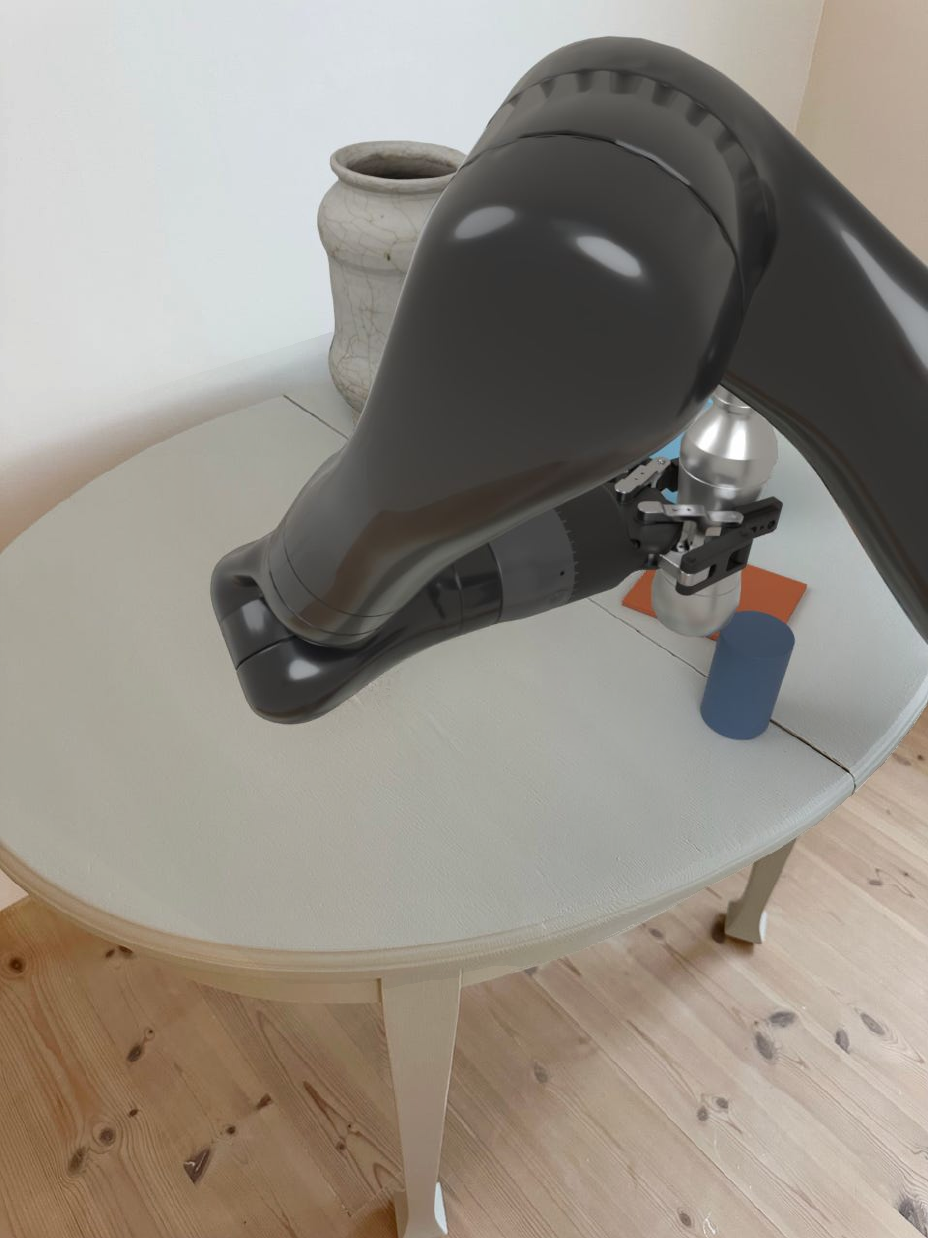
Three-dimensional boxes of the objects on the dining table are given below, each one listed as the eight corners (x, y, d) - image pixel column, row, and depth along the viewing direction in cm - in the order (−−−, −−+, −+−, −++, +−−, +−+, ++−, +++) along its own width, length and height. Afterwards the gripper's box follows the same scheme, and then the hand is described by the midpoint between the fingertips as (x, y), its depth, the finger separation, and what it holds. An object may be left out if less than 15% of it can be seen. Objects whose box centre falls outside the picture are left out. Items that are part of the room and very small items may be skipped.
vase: (507, 410, 119) (521, 150, 99) (427, 474, 107) (425, 193, 88) (389, 373, 126) (380, 124, 106) (302, 430, 114) (274, 161, 95)
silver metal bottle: (645, 643, 70) (695, 393, 57) (646, 586, 75) (693, 345, 62) (734, 654, 69) (805, 404, 56) (729, 597, 74) (794, 355, 62)
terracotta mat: (806, 589, 92) (807, 584, 92) (765, 659, 85) (767, 654, 84) (671, 542, 98) (671, 537, 98) (621, 604, 90) (622, 599, 90)
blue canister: (777, 707, 80) (804, 626, 74) (755, 750, 76) (781, 668, 71) (714, 682, 82) (735, 601, 76) (690, 722, 79) (709, 640, 73)
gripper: (610, 564, 53) (834, 491, 59) (483, 446, 62) (687, 393, 69) (595, 664, 57) (804, 586, 64) (479, 540, 67) (671, 483, 73)
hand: (742, 487), depth 66 cm, fingers closed on silver metal bottle, 6 cm apart
